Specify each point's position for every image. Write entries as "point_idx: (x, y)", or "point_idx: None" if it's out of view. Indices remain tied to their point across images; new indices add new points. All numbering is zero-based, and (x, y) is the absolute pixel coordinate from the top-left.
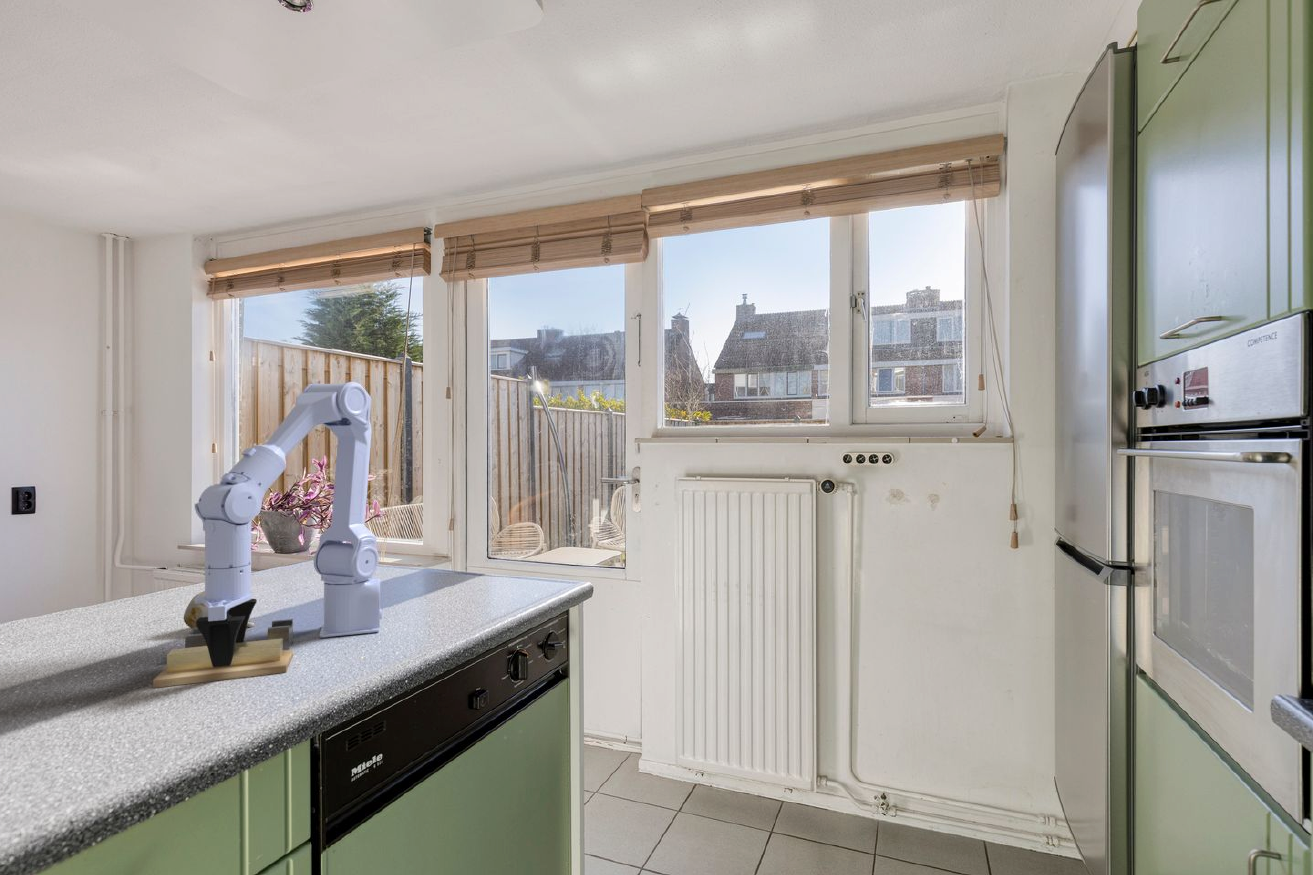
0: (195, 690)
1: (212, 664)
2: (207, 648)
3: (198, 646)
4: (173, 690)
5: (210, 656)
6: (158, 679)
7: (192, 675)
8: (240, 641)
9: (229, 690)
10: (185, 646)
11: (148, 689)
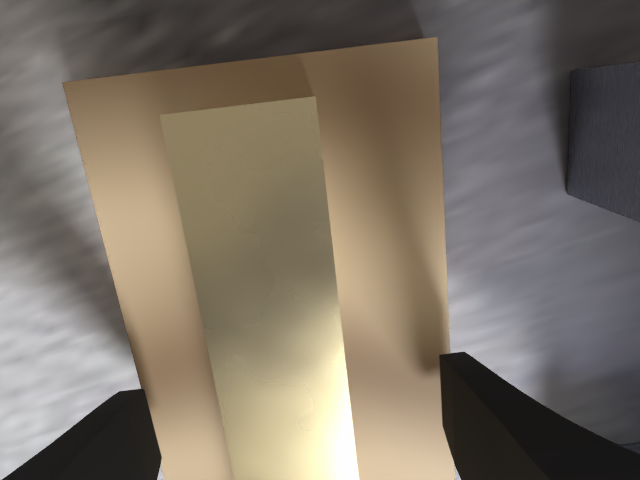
0: (20, 315)
1: (109, 399)
2: (268, 352)
3: (617, 153)
4: (32, 211)
5: (71, 429)
6: (80, 107)
7: (122, 276)
8: (460, 459)
9: (4, 453)
10: (631, 66)
11: (64, 66)
